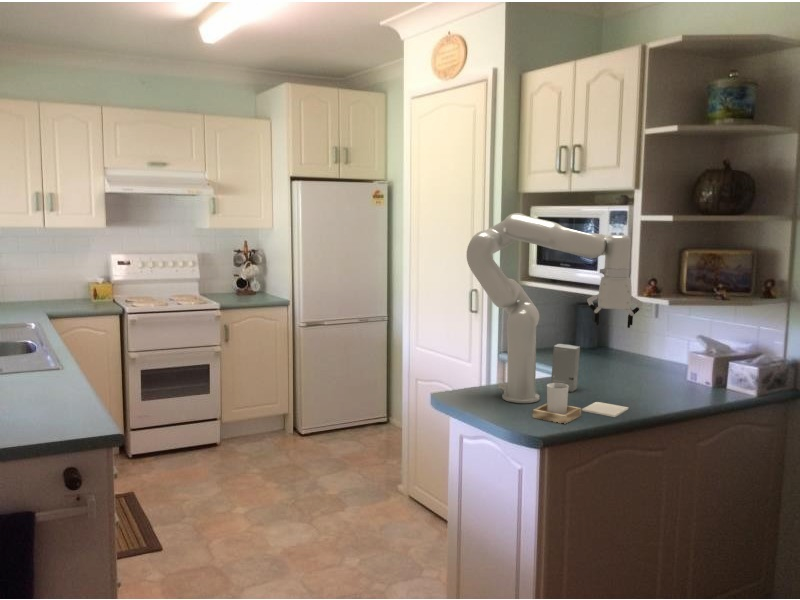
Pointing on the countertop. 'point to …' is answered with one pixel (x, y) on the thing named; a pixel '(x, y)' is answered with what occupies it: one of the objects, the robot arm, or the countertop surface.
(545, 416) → the wooden frame
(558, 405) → the drinking glass
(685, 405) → the countertop surface
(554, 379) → the skincare box
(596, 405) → the coaster
